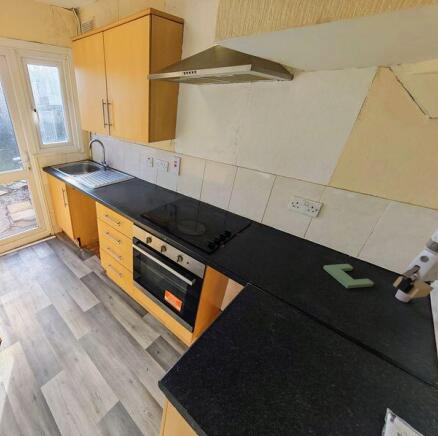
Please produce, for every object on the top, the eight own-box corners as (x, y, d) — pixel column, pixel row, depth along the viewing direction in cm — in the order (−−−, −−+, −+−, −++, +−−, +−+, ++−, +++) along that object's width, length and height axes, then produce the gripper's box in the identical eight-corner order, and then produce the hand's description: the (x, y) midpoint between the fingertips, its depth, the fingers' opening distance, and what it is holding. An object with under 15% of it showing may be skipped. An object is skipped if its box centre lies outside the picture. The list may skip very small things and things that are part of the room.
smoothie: (408, 297, 96) (430, 272, 89) (414, 307, 91) (437, 282, 84) (388, 290, 99) (408, 266, 92) (392, 300, 94) (413, 275, 87)
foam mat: (346, 266, 112) (348, 263, 111) (372, 286, 100) (374, 283, 99) (322, 268, 110) (324, 265, 109) (346, 288, 99) (348, 285, 98)
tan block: (406, 283, 82) (413, 275, 80) (426, 296, 77) (434, 288, 75) (392, 285, 81) (399, 276, 79) (411, 298, 76) (419, 289, 74)
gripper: (437, 258, 65) (401, 300, 74) (483, 253, 68) (443, 295, 77) (408, 242, 72) (377, 284, 80) (451, 239, 74) (417, 279, 83)
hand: (410, 289), depth 78 cm, fingers closed on tan block, 6 cm apart
